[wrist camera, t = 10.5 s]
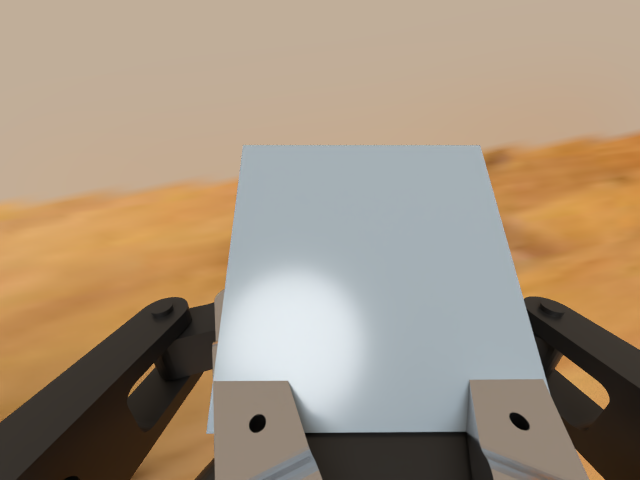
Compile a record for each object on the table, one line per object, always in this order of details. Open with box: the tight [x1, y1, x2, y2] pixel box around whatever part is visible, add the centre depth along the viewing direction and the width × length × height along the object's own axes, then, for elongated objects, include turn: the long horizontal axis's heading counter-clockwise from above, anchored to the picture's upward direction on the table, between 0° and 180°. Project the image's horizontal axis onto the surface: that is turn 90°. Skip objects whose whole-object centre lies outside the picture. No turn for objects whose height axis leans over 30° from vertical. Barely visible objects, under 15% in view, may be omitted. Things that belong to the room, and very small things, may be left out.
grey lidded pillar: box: [206, 145, 550, 434], centre depth 10 cm, size 6×6×11 cm
